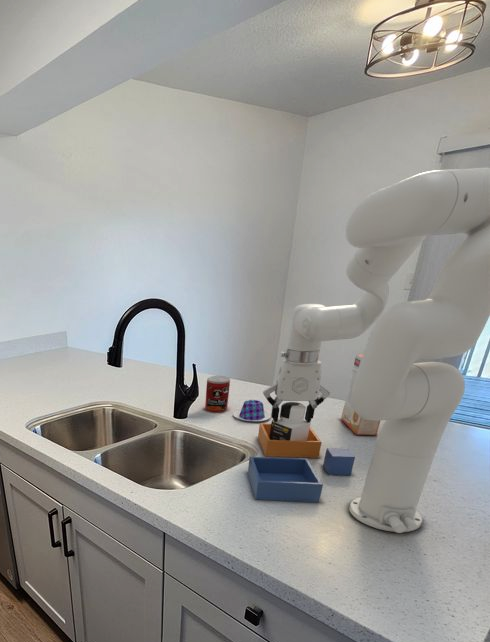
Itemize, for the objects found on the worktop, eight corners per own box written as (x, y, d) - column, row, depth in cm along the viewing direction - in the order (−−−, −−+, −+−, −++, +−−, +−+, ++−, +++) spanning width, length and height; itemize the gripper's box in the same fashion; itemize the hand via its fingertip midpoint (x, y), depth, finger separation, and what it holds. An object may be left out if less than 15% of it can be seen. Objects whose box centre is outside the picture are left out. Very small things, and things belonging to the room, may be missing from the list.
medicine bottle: (267, 443, 124) (273, 403, 119) (286, 438, 127) (292, 398, 121) (287, 452, 118) (295, 410, 113) (306, 446, 121) (314, 405, 116)
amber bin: (318, 457, 116) (321, 442, 114) (265, 456, 119) (267, 440, 116) (305, 438, 128) (308, 424, 125) (257, 437, 130) (259, 423, 128)
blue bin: (319, 502, 96) (323, 484, 94) (255, 499, 99) (258, 481, 97) (304, 475, 108) (307, 458, 106) (247, 473, 110) (249, 456, 108)
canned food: (204, 412, 153) (206, 381, 148) (205, 405, 159) (207, 375, 154) (227, 413, 151) (230, 382, 146) (227, 405, 157) (230, 375, 152)
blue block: (350, 475, 106) (355, 456, 104) (328, 474, 107) (332, 456, 105) (344, 466, 111) (348, 448, 109) (322, 465, 112) (326, 448, 109)
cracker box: (377, 436, 126) (397, 364, 117) (355, 435, 128) (372, 364, 118) (360, 419, 139) (377, 353, 129) (340, 419, 140) (355, 353, 130)
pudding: (259, 409, 152) (261, 395, 149) (278, 421, 141) (280, 405, 139) (226, 413, 150) (228, 398, 148) (243, 425, 140) (245, 409, 138)
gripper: (268, 359, 110) (259, 424, 118) (344, 358, 106) (329, 426, 114) (263, 353, 116) (255, 415, 124) (334, 352, 113) (321, 416, 121)
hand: (291, 420), depth 119 cm, fingers closed on medicine bottle, 7 cm apart
